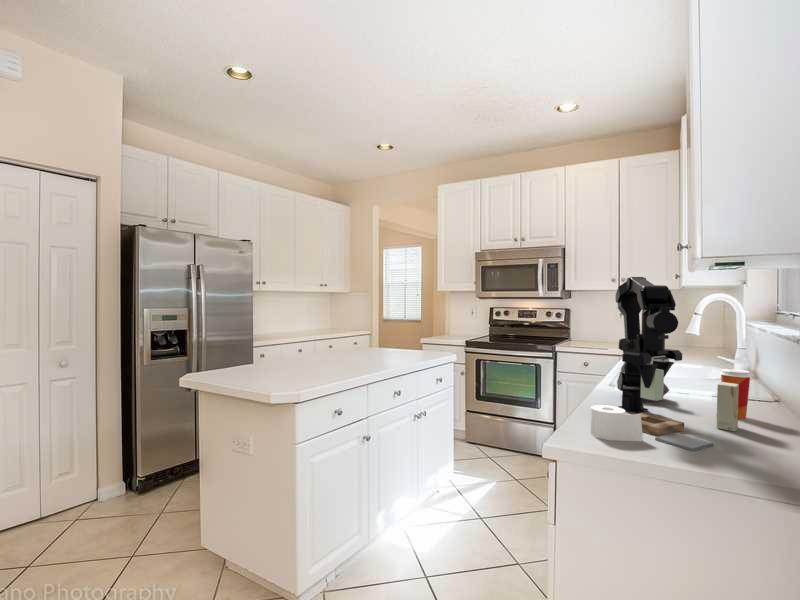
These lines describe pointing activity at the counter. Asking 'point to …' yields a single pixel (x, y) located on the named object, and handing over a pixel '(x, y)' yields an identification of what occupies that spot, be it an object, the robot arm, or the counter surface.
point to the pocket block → (659, 424)
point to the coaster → (684, 441)
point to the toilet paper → (615, 424)
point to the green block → (654, 387)
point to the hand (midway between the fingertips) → (651, 387)
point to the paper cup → (743, 381)
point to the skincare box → (727, 406)
